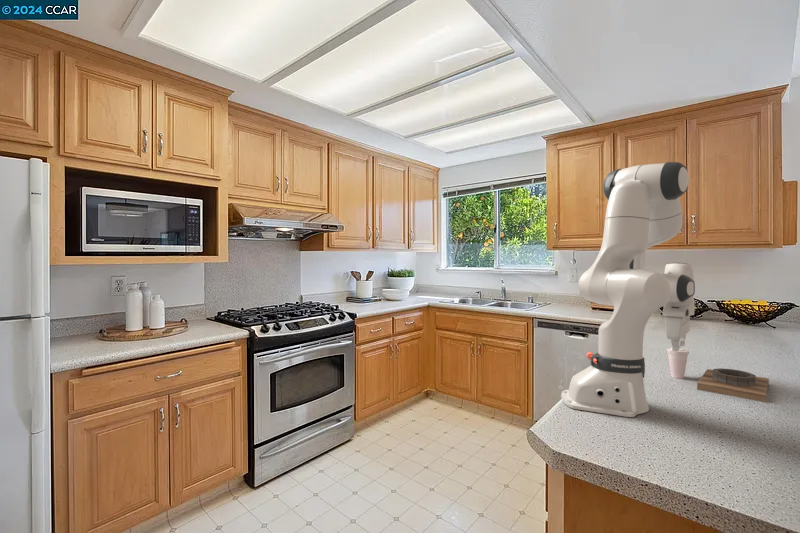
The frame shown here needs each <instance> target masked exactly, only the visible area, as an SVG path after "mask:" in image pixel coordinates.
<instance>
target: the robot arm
mask: <svg viewBox="0 0 800 533" xmlns="http://www.w3.org/2000/svg"><path fill="white" fill-rule="evenodd" d="M689 183H690V175H689V172H688V168H687V167H686V166H685V165H684V164H683V163H682V162H677V161H666V162H663V163H649V164H648V163H647V164H639V165H633V166H629V167H626V168H618V169H615V170H612V171H611V172H609V173H607V175H606V177H605V178H604V180H603V185H602V186H603V187H602V189H603V194H604V196H605V198H606V199H607V200H608V201H607V205H606V210H605V216H604V217H605V218H604V226H603V227H604V228H603V234H602V242H601V245H600V249H599V252H598V255H597V256H596V258H595V260H594V261H593V263H592V265H591V266H590V267H589V268H588V269H586V271H584V272H583V273H582V275H581V276H580V278H579V280H578V286H577V287H578V290H579V294H580V295H581V297H582V298H583V299H585V300H587V301H589V302H592V303H594V304H597V305H602V306H603V305H604V306H610V307H611V306H612V307H613V313H612V314H611V317H610V319H607V320H606V321H604V322H602V323H601V324H600V325H599V327H598V330H597V331H598V336H597V337H598V344H597V346H598V347H597V350H598V351H597V352H596V353H595V354H594V353H593V352H592V351H588V352H587V353H586V357H587V359H588V360H590V365H589V366H587V367H586V368H584V369H583V370H581V371H579V372H577V373H576V374H574V375H573V376H572V377H571V379H570V383H569V388H568V389H564V390H562V391H561V394H560V398H561V400H562V399H563V400H562V402H563V404H565V406H567V407H569V408H571V409H573V410H582V411H586V412H593V413H599V414H605V415H613V416H619V417H626V418H634V417H637V415H640V414H644V413H648V412H649V410H650V406H649V402H648V400H647V396H646V395H647V394H646V391H645V390H646V389H645V382H644V378H645V375H646V374H645V373H646V363H645V358H644V355H643V354H644V352H643V351H644V334H645V329H646V326H647V323H648V321H649V320H650V318H651V317H652V316H653V314H654V313H655V312H656V311H657V310H659V309H660V308H662V307H663V309H662V316H663V317H664V329H665V336H666V339H667V340H670V343H671V346H672V347H671V348H672V350H673V351H679V348H680V346H679V340H680V339H681V347H684V346H685V345H686V337H687V334H688V333H689V332H690V330H691V322H690V321H691V316H694V315H695V298H694V295H695V293H696V291H695V290H696V289H695V288H696V287H695V275H694V270H693V266H692V265H691V264H689V263H687V262H670V263H667V264H665V266H664V272H663V273H660V272H657V271H653V270H649V269H645V264H646V263H645V261H646V251H647V250H648V249H649V248H652V247H654V246H657V245H661V244H663V243H665V242H667V241H668V242H669V240H671V239H673V238H674V237H676V236H677V235H678V234H679V233H680V231H681V230H682V228H683V210H682V204H681V199H680V197H682V196H683V195H684V194H685V193H686V192H687V190H688V187H689ZM568 393H569V394H568Z"/></svg>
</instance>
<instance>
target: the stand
mask: <svg viewBox="0 0 800 533" xmlns="http://www.w3.org/2000/svg"><path fill="white" fill-rule="evenodd" d="M769 382H770V379H769V377H768V378H767V377H762V376H756V375H755V374H754V373H752V372H747V371H743V370H740V369H733V368H714V369H711V368H710V369H709V368H707V369H706V370H705V371H704V373H703V374H702V376H701V377H700V379H699V380H698V382H696V390H700V391H704V392H709V393H710V392H711V393H716V394H721V395H725V396H730V397H737V398H741V399H747V400H753V401H757V402H762V403H763V402H764V403H767V400H768V391H769Z"/></svg>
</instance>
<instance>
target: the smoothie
mask: <svg viewBox="0 0 800 533" xmlns="http://www.w3.org/2000/svg"><path fill="white" fill-rule="evenodd" d="M679 346H680V348H679V351H673V350H672V347H667V348H666V352H667V355H668V357H667V358H668V362H669V363H668V364H669V371H670V377H672V378H673V379H680V380H681V379H685V375H686V368H687V362H688V356H689V354H690V351H689V350H688V349H686V348H681V347H682V346H681V339H680V340H679Z"/></svg>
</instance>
